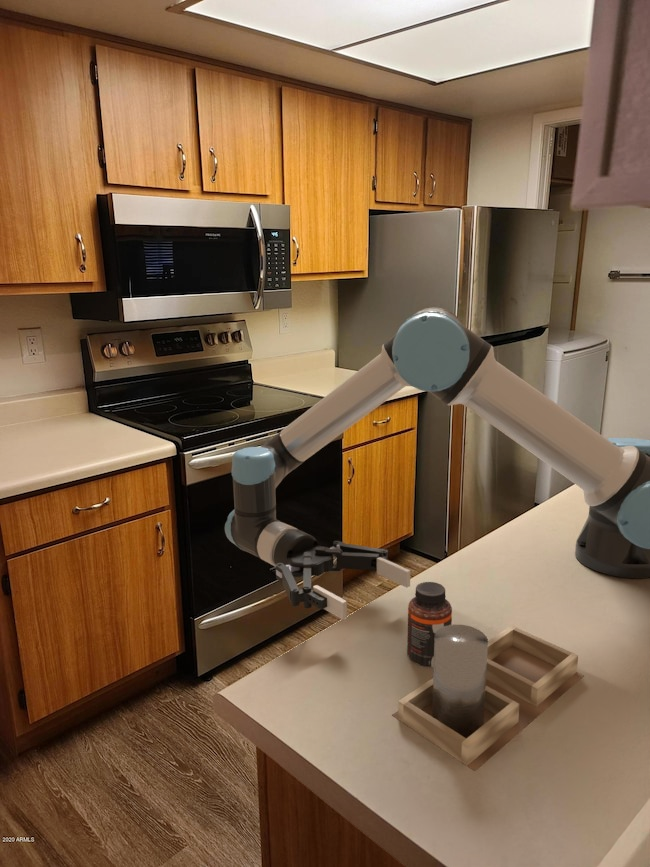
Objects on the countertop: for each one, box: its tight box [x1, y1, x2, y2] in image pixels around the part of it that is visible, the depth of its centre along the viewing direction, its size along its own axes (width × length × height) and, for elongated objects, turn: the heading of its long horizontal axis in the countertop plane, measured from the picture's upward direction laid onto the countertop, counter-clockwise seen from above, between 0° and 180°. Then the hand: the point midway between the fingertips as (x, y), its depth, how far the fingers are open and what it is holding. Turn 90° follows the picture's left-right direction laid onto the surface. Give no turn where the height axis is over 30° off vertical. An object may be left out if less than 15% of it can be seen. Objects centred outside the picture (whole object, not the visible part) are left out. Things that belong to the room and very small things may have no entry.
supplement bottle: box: [406, 581, 453, 668], centre depth 88 cm, size 6×6×11 cm
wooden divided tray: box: [391, 625, 585, 772], centre depth 80 cm, size 24×12×4 cm, turn 132°
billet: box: [432, 624, 489, 738], centre depth 74 cm, size 6×6×11 cm
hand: (378, 594), depth 94 cm, fingers open, 13 cm apart
